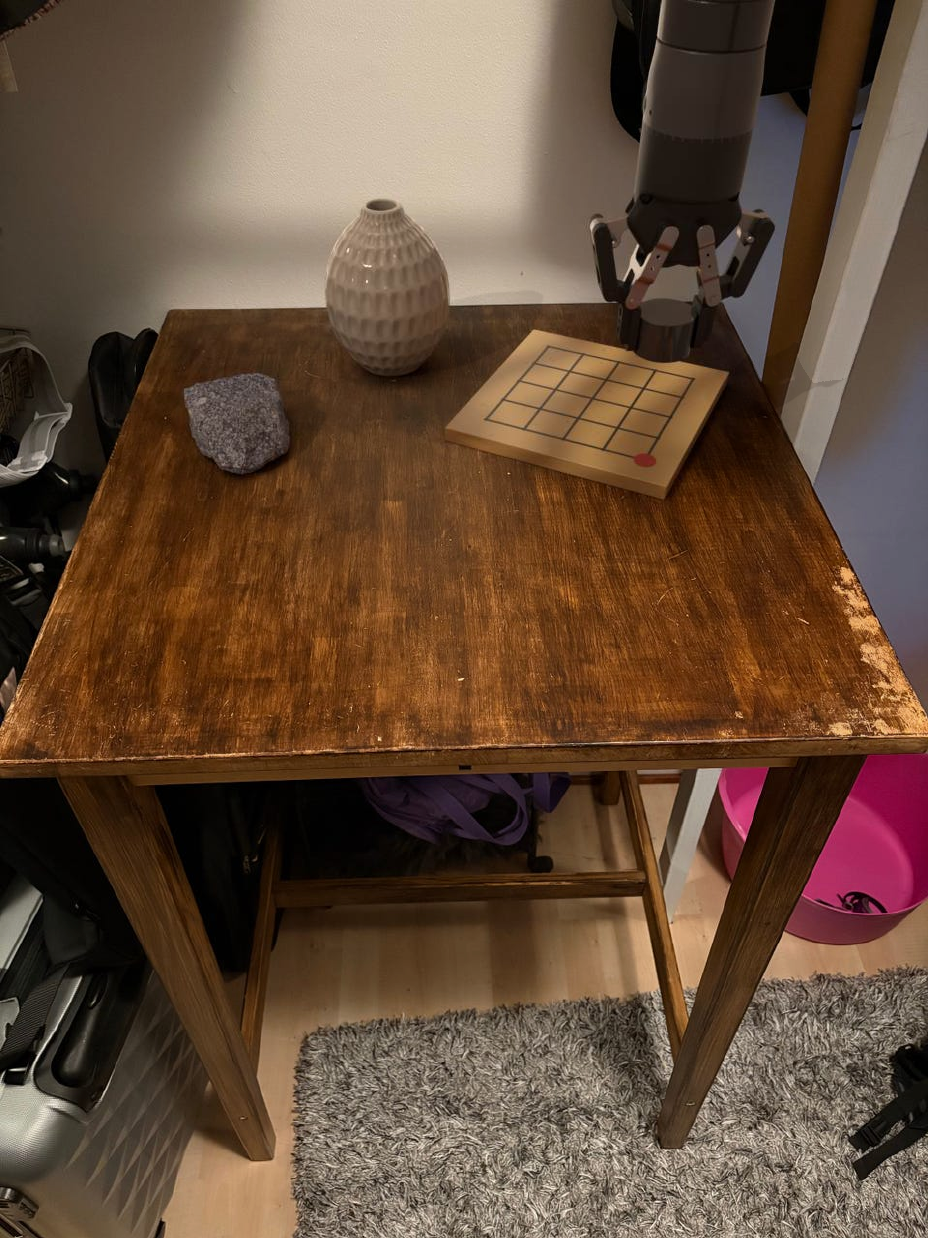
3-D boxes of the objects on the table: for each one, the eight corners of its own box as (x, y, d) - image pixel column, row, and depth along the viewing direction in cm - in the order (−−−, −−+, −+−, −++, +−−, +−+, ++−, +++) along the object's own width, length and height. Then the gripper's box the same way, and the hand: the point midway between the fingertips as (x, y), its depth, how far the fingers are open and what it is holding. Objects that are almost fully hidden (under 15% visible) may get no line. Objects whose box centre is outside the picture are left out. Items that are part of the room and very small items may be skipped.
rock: (165, 389, 86) (259, 349, 89) (183, 433, 90) (272, 394, 93) (214, 454, 80) (314, 409, 83) (231, 499, 84) (325, 454, 87)
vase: (469, 378, 96) (469, 217, 84) (353, 403, 93) (336, 240, 81) (426, 326, 105) (420, 173, 93) (318, 347, 101) (298, 191, 89)
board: (726, 384, 95) (729, 371, 94) (664, 500, 81) (667, 485, 80) (533, 341, 102) (533, 328, 101) (444, 440, 88) (444, 426, 87)
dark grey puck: (697, 341, 75) (704, 304, 73) (680, 368, 72) (687, 330, 70) (641, 329, 76) (646, 293, 74) (623, 355, 73) (628, 318, 71)
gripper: (605, 136, 59) (582, 372, 71) (820, 130, 60) (761, 365, 72) (586, 102, 64) (567, 327, 76) (783, 97, 65) (734, 320, 77)
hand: (661, 344), depth 74 cm, fingers closed on dark grey puck, 4 cm apart
